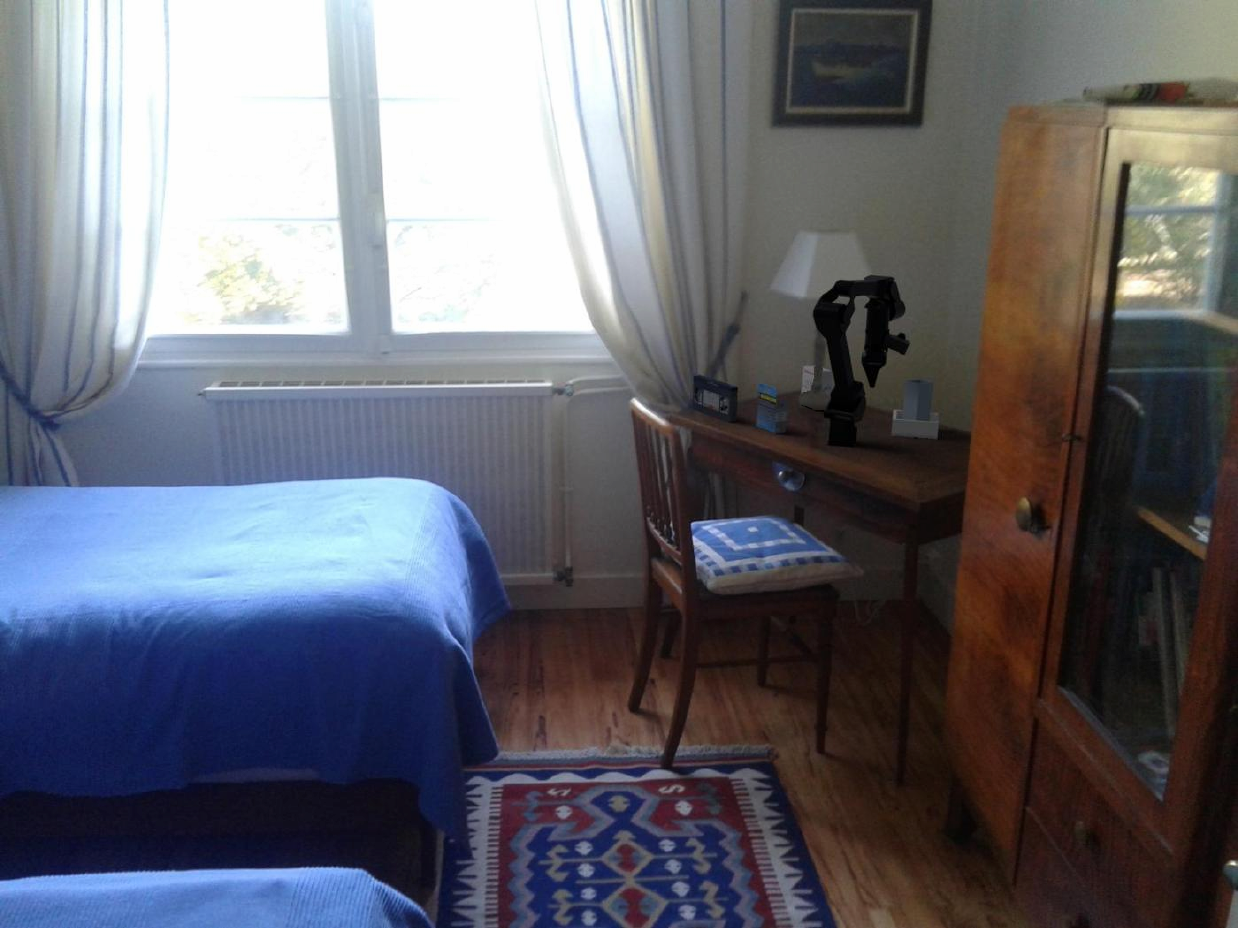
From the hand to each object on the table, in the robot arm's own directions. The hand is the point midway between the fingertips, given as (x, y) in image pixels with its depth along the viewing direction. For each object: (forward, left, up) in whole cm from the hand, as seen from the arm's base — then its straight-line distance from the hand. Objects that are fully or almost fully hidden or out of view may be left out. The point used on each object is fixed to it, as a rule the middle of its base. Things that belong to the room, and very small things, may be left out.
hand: (872, 383), depth 280 cm
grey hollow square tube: (+12, +4, -12) cm, 18 cm away
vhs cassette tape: (-43, +5, -14) cm, 45 cm away
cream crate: (+12, +4, -13) cm, 18 cm away
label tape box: (-25, -6, -13) cm, 29 cm away
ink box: (-16, +24, -13) cm, 32 cm away
